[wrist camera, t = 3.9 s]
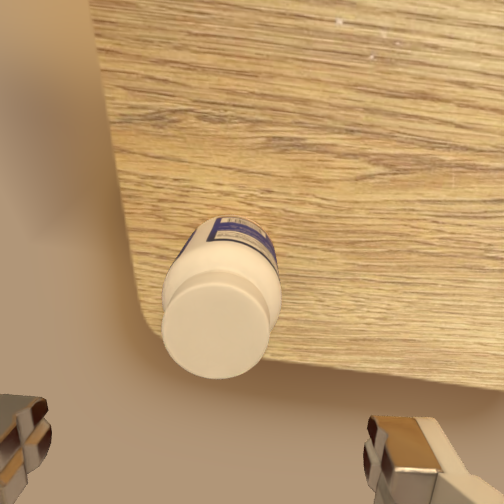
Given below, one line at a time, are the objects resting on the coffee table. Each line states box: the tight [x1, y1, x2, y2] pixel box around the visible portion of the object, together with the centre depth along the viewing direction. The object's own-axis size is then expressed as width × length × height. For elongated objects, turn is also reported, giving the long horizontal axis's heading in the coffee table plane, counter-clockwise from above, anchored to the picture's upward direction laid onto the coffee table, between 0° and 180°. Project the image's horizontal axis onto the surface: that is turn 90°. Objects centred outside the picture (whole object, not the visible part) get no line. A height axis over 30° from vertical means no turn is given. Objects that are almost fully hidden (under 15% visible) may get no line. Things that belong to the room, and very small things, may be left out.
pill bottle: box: [161, 215, 282, 379], centre depth 17 cm, size 5×5×9 cm
